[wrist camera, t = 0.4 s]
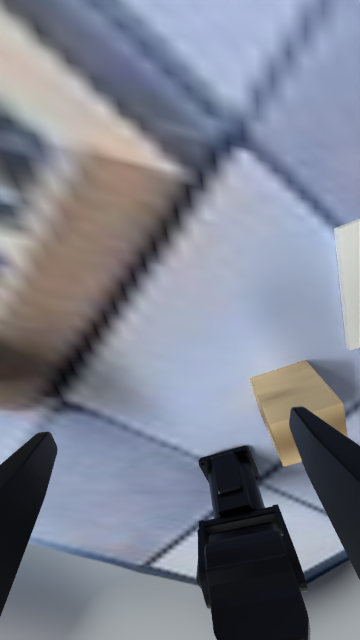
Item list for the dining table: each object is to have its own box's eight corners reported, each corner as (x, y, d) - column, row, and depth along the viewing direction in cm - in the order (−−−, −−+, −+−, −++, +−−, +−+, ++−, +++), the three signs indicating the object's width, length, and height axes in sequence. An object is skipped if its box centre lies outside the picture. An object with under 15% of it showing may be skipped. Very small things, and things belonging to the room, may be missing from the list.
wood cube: (313, 400, 27) (348, 448, 22) (261, 416, 28) (283, 466, 23) (305, 359, 25) (343, 402, 20) (248, 377, 26) (270, 424, 20)
